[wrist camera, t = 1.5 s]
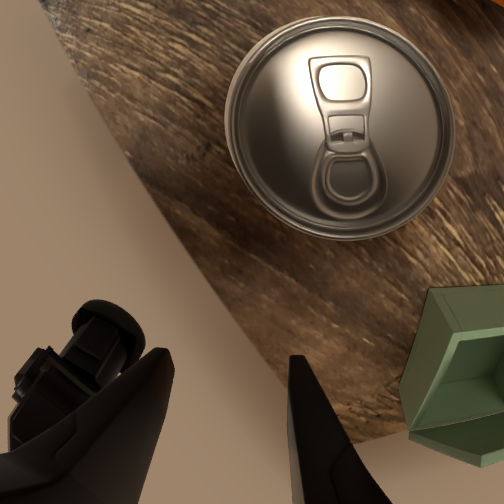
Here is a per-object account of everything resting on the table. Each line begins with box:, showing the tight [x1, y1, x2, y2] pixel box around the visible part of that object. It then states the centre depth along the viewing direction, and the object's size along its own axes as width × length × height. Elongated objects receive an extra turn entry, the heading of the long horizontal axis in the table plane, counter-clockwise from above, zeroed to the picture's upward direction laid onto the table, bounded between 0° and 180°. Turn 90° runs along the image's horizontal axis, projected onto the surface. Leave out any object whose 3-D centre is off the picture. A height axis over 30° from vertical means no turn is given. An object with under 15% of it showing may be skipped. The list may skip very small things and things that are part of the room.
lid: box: [409, 412, 504, 468], centre depth 16 cm, size 12×12×1 cm
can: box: [224, 15, 456, 241], centre depth 12 cm, size 6×6×12 cm
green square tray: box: [398, 284, 504, 431], centre depth 21 cm, size 12×12×5 cm
